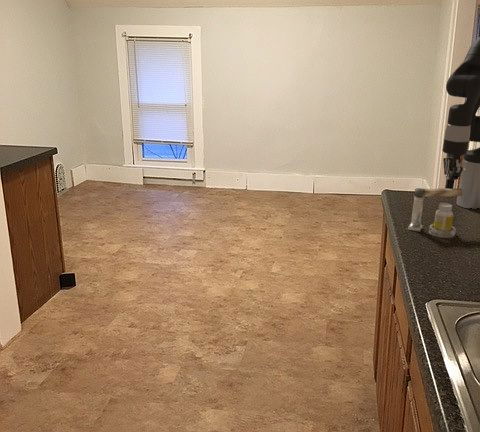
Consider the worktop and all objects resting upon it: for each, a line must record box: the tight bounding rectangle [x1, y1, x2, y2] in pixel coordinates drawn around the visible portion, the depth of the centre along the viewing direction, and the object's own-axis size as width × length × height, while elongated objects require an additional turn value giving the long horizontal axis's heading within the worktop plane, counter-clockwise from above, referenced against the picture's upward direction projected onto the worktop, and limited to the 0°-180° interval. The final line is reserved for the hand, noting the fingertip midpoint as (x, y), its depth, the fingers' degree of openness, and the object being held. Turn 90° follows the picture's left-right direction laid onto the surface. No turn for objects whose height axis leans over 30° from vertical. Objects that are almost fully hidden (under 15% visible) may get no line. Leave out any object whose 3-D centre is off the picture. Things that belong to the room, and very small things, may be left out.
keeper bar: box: [413, 187, 463, 198], centre depth 183 cm, size 16×3×2 cm, turn 96°
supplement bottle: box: [433, 202, 454, 231], centre depth 181 cm, size 5×5×10 cm
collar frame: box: [407, 196, 457, 239], centre depth 182 cm, size 8×14×11 cm, turn 63°
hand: (448, 189), depth 186 cm, fingers closed
